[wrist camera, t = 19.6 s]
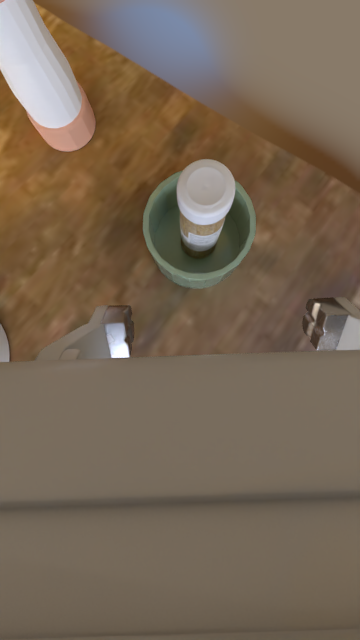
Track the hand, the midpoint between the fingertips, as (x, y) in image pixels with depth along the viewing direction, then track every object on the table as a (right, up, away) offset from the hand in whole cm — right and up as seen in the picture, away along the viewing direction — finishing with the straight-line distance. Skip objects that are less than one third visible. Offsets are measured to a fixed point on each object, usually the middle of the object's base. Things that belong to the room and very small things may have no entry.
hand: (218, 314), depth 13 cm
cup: (0, +10, +22) cm, 24 cm away
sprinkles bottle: (+1, +9, +22) cm, 24 cm away
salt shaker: (-16, +25, +23) cm, 38 cm away
